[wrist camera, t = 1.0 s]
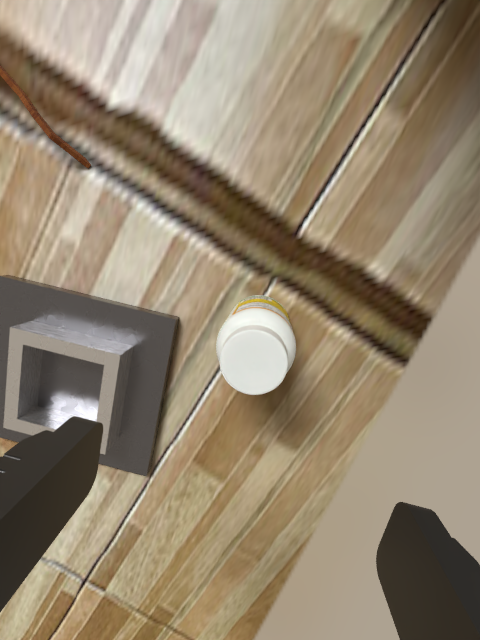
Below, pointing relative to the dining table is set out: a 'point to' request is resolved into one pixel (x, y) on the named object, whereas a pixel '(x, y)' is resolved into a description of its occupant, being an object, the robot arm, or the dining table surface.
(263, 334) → the supplement bottle
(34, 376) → the mount
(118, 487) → the dining table surface
